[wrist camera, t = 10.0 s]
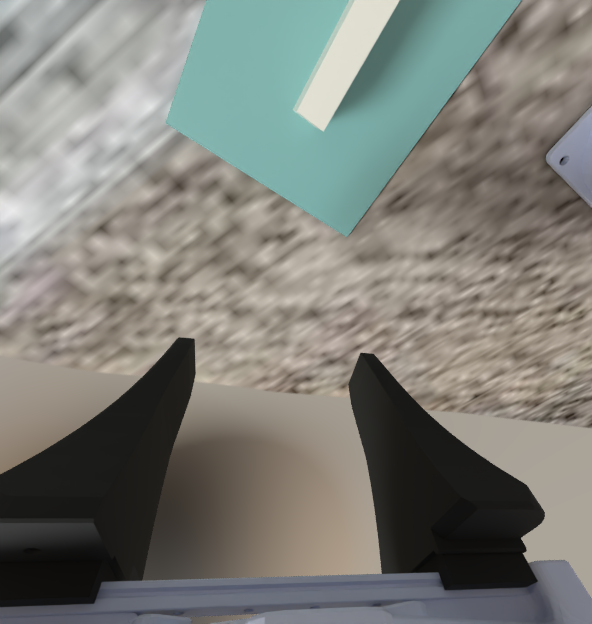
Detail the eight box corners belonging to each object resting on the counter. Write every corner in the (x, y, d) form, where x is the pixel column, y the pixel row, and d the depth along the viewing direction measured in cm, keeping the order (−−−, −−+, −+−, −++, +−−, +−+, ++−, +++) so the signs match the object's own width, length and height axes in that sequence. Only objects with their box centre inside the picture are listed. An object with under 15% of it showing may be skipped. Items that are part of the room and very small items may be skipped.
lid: (526, -18, 14) (610, -58, 10) (344, 232, 20) (359, 260, 17) (314, -305, 10) (336, -530, 6) (169, 122, 16) (141, 127, 13)
